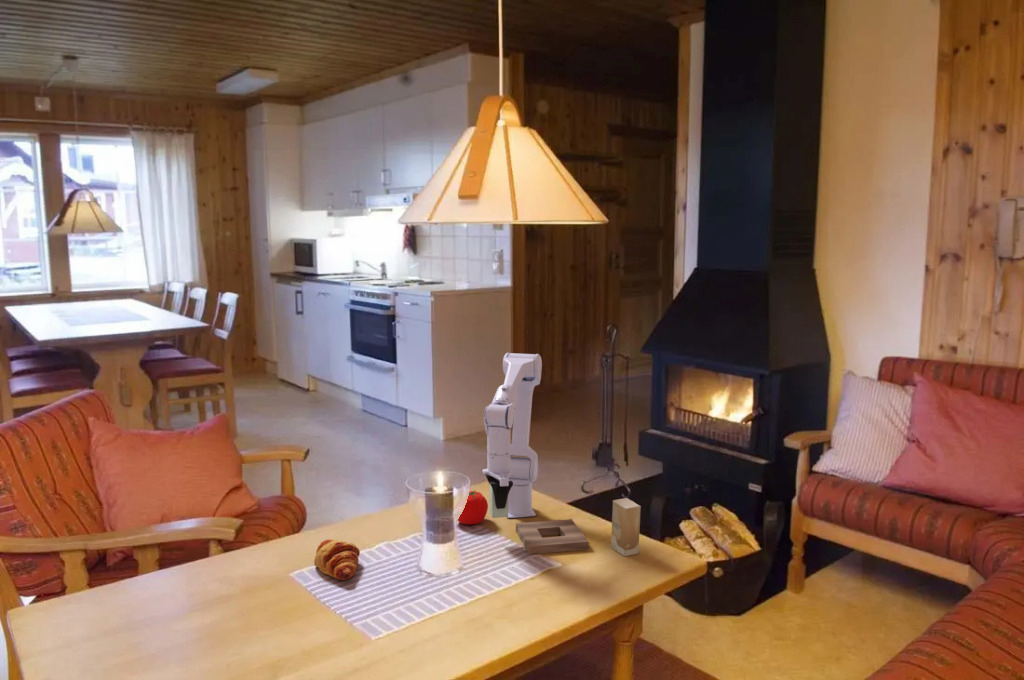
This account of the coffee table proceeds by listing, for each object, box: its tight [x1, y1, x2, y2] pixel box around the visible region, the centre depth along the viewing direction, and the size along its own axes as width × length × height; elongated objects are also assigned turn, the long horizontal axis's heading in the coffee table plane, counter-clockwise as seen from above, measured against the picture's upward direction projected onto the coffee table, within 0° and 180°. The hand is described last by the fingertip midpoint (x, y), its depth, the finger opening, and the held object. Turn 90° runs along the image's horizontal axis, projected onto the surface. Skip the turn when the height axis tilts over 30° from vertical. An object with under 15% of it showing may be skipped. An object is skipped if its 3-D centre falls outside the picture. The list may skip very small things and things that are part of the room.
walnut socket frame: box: [515, 518, 590, 555], centre depth 197 cm, size 15×15×2 cm
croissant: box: [314, 538, 361, 581], centre depth 182 cm, size 21×10×8 cm, turn 27°
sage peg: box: [488, 482, 508, 519], centre depth 195 cm, size 4×4×8 cm
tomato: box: [457, 490, 489, 526], centre depth 209 cm, size 9×10×8 cm
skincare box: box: [610, 497, 642, 557], centre depth 190 cm, size 6×4×12 cm
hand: (498, 504), depth 196 cm, fingers closed on sage peg, 4 cm apart
